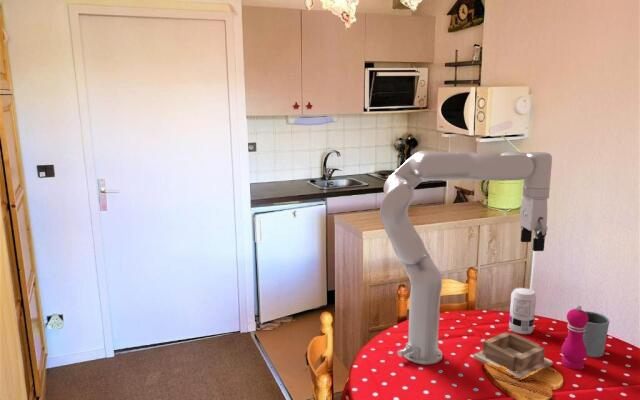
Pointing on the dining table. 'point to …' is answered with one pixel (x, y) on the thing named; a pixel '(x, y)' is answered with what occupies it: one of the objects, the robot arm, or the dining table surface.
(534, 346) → the stand
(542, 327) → the dining table surface
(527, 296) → the supplement can
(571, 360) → the pepper mill
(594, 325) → the grey cylindrical pot
